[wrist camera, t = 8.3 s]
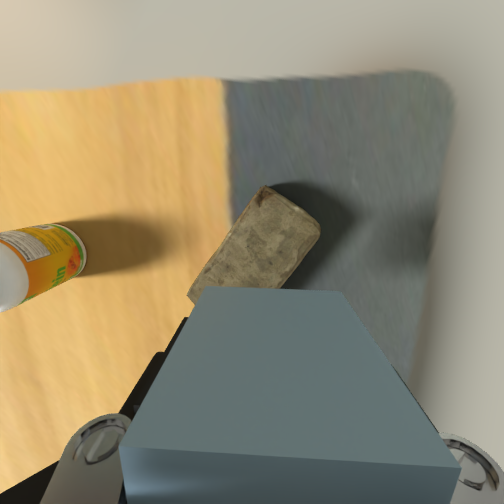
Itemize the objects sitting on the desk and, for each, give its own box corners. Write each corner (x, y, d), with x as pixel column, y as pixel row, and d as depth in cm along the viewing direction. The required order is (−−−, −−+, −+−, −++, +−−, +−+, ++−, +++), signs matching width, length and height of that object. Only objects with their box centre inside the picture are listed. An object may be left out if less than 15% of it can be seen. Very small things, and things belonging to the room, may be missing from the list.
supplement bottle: (67, 289, 25) (-50, 352, 16) (20, 250, 24) (-133, 294, 15) (100, 252, 24) (-5, 296, 14) (52, 210, 23) (-93, 229, 14)
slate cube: (326, 400, 11) (398, 654, 5) (208, 393, 11) (147, 630, 5) (340, 291, 9) (461, 468, 4) (205, 285, 10) (118, 446, 4)
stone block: (316, 218, 22) (330, 228, 18) (244, 314, 25) (239, 345, 20) (261, 180, 22) (261, 179, 17) (194, 282, 25) (177, 307, 20)
